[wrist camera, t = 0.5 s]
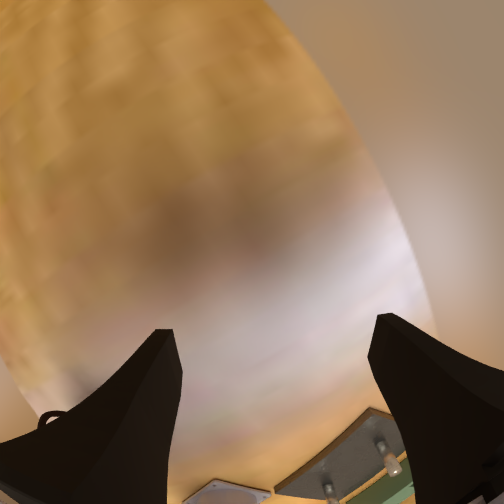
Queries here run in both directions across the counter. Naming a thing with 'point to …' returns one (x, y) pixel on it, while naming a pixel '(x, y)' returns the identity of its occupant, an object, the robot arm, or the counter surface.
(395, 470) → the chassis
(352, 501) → the green block with holes
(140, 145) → the counter surface
